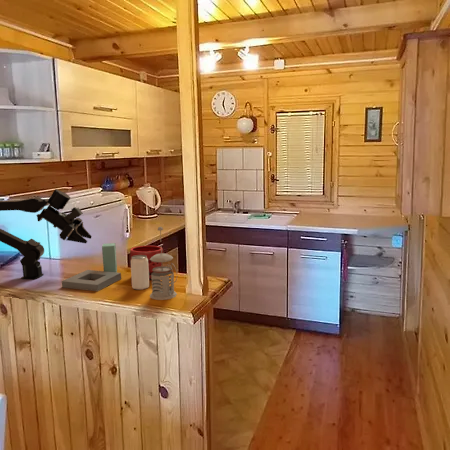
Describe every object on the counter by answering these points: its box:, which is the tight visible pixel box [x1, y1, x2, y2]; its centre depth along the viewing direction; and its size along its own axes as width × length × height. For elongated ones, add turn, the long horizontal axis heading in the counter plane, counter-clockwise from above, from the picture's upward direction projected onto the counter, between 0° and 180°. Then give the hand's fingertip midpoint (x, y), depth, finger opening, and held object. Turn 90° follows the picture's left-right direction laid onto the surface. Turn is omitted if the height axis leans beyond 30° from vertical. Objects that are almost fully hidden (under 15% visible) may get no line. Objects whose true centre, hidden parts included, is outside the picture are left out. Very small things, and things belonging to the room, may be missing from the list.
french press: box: [149, 226, 178, 301], centre depth 156 cm, size 10×12×25 cm
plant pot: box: [129, 245, 164, 280], centre depth 181 cm, size 13×13×12 cm
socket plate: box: [61, 269, 122, 292], centre depth 174 cm, size 16×16×2 cm
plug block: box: [101, 243, 118, 273], centre depth 188 cm, size 5×5×12 cm
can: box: [130, 255, 150, 291], centre depth 167 cm, size 6×6×12 cm
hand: (89, 240), depth 184 cm, fingers open, 9 cm apart
